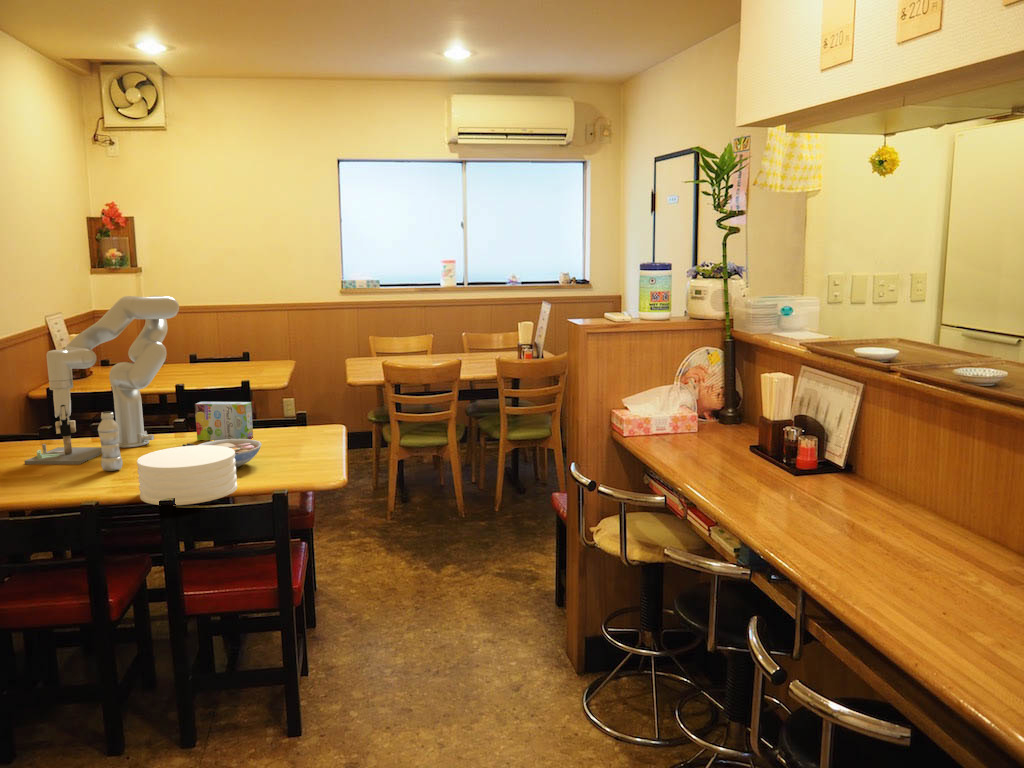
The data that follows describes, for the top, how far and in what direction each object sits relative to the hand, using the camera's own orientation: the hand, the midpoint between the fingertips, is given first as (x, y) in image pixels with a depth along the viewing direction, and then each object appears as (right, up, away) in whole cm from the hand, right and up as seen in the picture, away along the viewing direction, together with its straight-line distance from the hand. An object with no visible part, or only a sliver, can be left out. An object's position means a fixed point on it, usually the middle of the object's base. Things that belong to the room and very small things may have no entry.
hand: (66, 434), depth 302 cm
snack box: (+49, -4, +25) cm, 55 cm away
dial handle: (-2, -7, 0) cm, 7 cm away
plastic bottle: (+25, -11, -18) cm, 33 cm away
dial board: (0, -8, +1) cm, 8 cm away
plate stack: (+61, -15, -43) cm, 76 cm away
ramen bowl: (+63, -10, -15) cm, 66 cm away
